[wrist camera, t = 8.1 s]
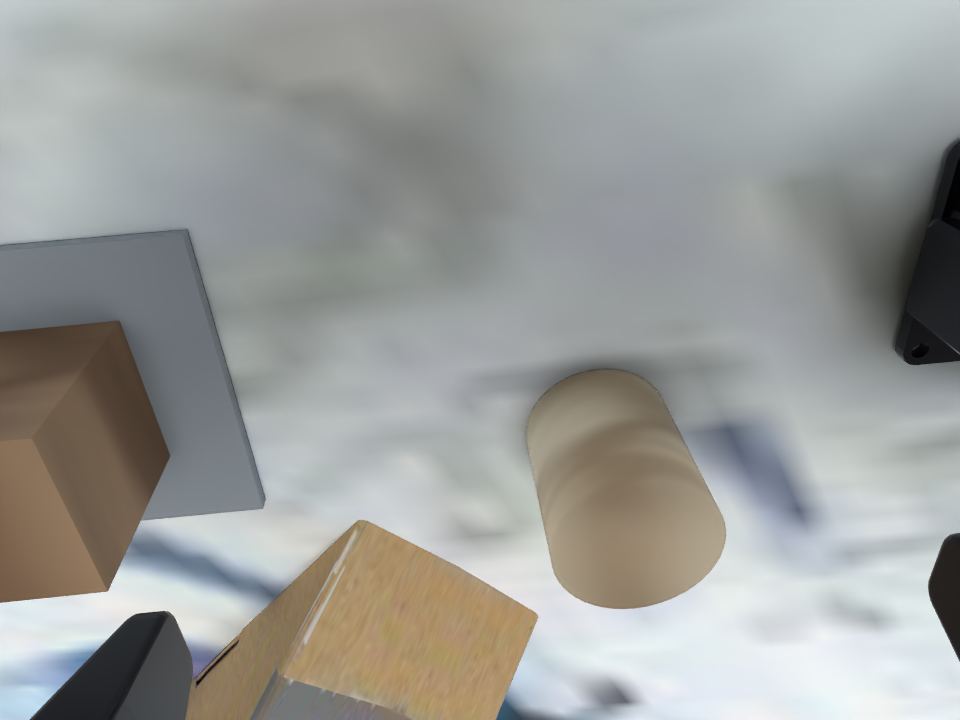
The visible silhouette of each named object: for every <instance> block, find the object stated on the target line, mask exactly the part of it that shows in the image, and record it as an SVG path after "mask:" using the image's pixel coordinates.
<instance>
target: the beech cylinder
mask: <svg viewBox="0 0 960 720" xmlns="http://www.w3.org/2000/svg"><path fill="white" fill-rule="evenodd" d="M526 442H527V447H528V452H529V457H530V462H531V467H532V471H533V476H534V481H535V486H536V491H537V495H538V500H539V505H540V510H541V515H542V519H543V524H544V529H545V534H546V539H547V544H548V548H549V553H550V558H551V563H552V567H553V570H554V574H555V576H556V577H557V579H558V581H559V582H560V584H561V585H562V586H563V587H564V588H565V589H566V590H567V591H568V592H569V593H570V594H572V595H573V596H575V597H576V598H578V599H580V600H582V601H584V602H586V603H589V604H592V605H596V606H600V607H605V608H613V609H630V608H640V607H646V606H650V605H654V604H658V603H661V602H664V601H667V600H669V599H671V598H674V597H676V596H678V595H680V594H682V593H684V592H686V591H687V590H689V589H690V588H692V587H693V586H695V585H696V584H697V583H698V582H700V581H701V580H702V579H703V578H704V577H705V576H706V575H707V574H708V573H709V572H710V571H711V569H712V568H713V567H714V566H715V564H716V563H717V561H718V559H719V558H720V556H721V553H722V551H723V548H724V544H725V539H726V528H725V522H724V519H723V516H722V514H721V512H720V510H719V508H718V506H717V504H716V503H715V501H714V499H713V497H712V495H711V493H710V491H709V489H708V487H707V485H706V483H705V481H704V479H703V477H702V475H701V473H700V471H699V469H698V467H697V465H696V463H695V461H694V460H693V458H692V456H691V454H690V452H689V450H688V448H687V446H686V444H685V442H684V440H683V438H682V436H681V434H680V432H679V430H678V428H677V426H676V424H675V422H674V420H673V418H672V417H671V415H670V413H669V411H668V409H667V407H666V405H665V403H664V401H663V399H662V397H661V395H660V394H659V392H658V391H657V390H656V389H655V387H653V386H652V385H651V384H650V383H649V382H648V381H646V380H645V379H643V378H641V377H639V376H637V375H635V374H633V373H630V372H627V371H622V370H616V369H596V370H590V371H585V372H581V373H578V374H575V375H573V376H570V377H568V378H566V379H564V380H562V381H560V382H559V383H557V384H556V385H554V386H553V387H552V388H550V389H549V390H548V391H547V392H546V393H545V394H544V395H543V396H542V397H541V398H540V399H539V400H538V402H537V403H536V405H535V406H534V408H533V410H532V411H531V413H530V416H529V419H528V422H527V427H526Z"/></svg>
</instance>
